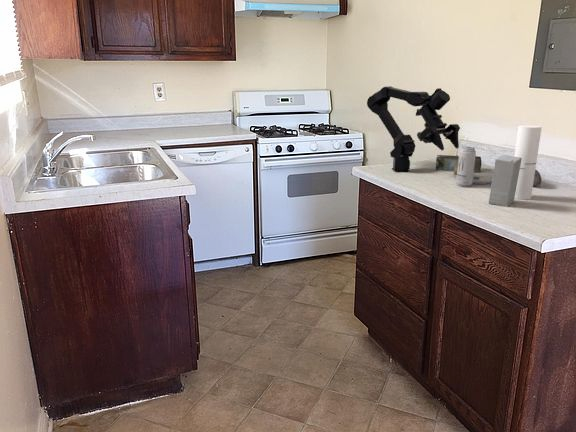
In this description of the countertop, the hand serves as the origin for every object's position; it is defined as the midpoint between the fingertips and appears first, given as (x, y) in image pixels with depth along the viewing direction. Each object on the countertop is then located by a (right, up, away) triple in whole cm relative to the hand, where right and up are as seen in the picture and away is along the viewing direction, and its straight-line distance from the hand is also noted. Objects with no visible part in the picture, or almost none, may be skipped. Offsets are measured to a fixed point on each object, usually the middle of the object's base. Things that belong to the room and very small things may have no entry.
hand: (450, 148), depth 192 cm
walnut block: (+9, -9, +15) cm, 20 cm away
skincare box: (+9, -22, -26) cm, 36 cm away
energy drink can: (+4, -15, -3) cm, 16 cm away
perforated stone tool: (+30, -14, -1) cm, 34 cm away
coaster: (+12, -13, +3) cm, 18 cm away
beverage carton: (+12, -6, +25) cm, 28 cm away
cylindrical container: (+18, -20, -19) cm, 33 cm away
